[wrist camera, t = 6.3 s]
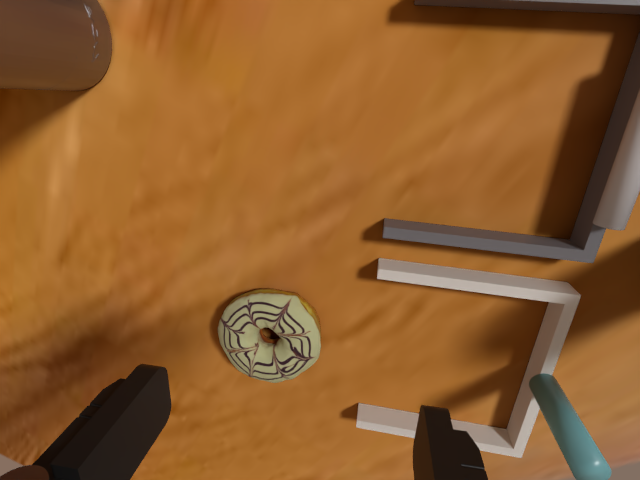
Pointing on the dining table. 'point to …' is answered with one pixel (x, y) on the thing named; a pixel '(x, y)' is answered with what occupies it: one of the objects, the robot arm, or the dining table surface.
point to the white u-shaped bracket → (537, 380)
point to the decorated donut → (262, 352)
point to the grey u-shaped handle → (607, 177)
